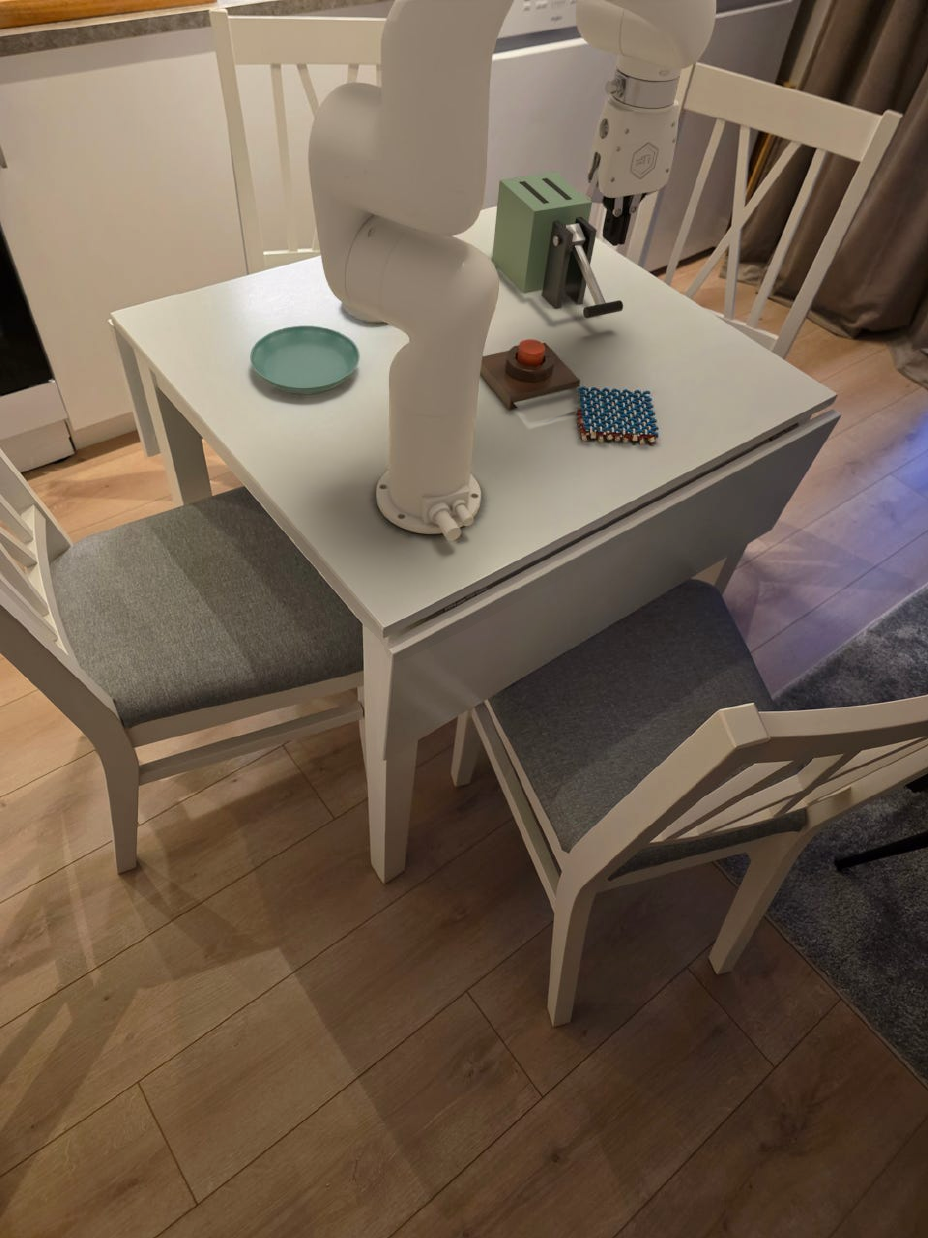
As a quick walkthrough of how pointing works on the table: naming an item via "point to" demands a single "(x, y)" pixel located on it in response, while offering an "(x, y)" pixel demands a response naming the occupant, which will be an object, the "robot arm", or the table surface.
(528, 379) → the control block
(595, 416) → the woven mat
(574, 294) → the bracket
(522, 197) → the toaster
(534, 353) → the button
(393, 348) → the table surface
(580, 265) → the lever
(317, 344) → the saucer
